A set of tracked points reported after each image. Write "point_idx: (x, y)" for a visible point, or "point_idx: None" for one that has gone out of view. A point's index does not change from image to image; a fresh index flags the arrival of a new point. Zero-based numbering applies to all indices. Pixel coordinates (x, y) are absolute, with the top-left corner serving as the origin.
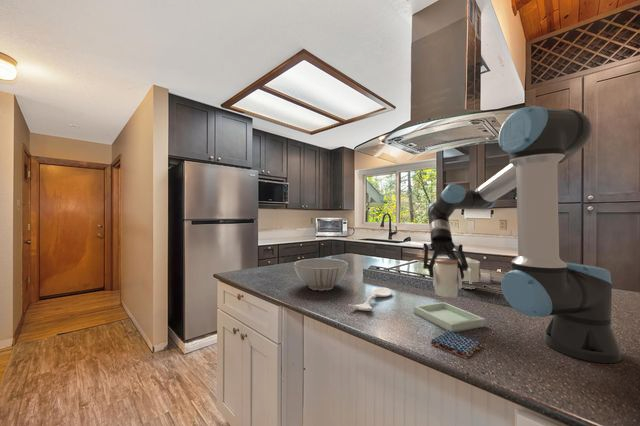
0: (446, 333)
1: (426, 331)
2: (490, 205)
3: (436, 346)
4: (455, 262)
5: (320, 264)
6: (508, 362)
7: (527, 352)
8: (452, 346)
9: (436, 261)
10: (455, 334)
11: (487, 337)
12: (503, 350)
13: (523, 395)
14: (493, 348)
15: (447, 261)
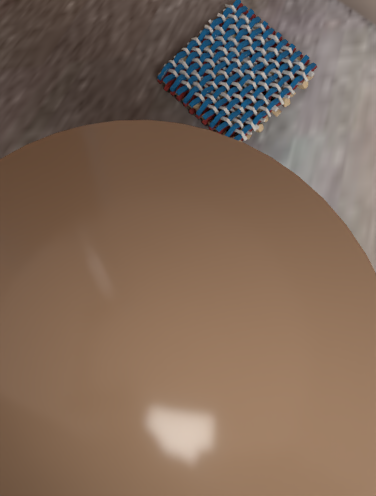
0: (248, 120)
1: (304, 170)
2: None
3: (301, 55)
4: (9, 166)
5: None
6: (129, 3)
7: (45, 61)
8: (261, 26)
9: (370, 294)
10: (221, 110)
11: None
12: (106, 64)
13: None
14: (128, 72)
15: (163, 165)
